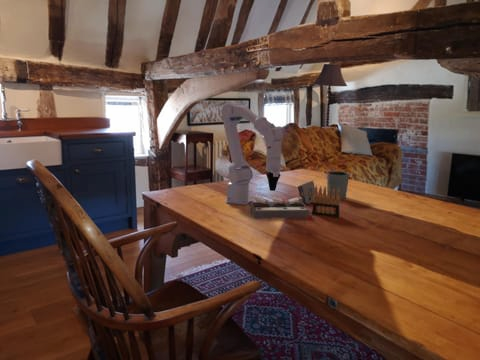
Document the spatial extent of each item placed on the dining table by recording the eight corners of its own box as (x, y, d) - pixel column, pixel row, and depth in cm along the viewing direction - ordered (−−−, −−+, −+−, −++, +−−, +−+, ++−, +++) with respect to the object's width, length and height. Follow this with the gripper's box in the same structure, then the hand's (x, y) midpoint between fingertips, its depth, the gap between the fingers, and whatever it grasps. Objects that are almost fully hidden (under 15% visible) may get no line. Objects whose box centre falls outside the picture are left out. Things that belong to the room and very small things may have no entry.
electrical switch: (307, 205, 161) (306, 184, 160) (297, 203, 165) (296, 183, 163) (317, 200, 168) (316, 180, 167) (307, 199, 172) (306, 180, 170)
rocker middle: (272, 202, 148) (273, 198, 148) (271, 199, 151) (272, 196, 151) (284, 205, 149) (285, 201, 149) (283, 202, 152) (284, 199, 152)
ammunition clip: (311, 214, 149) (313, 186, 146) (312, 213, 150) (314, 185, 147) (338, 217, 145) (341, 188, 142) (339, 216, 147) (341, 187, 144)
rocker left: (255, 202, 148) (256, 199, 148) (254, 200, 151) (255, 196, 151) (267, 205, 149) (268, 202, 148) (266, 203, 152) (267, 199, 151)
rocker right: (290, 205, 149) (289, 201, 149) (289, 202, 152) (288, 199, 152) (302, 201, 149) (302, 198, 149) (300, 199, 152) (300, 196, 152)
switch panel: (253, 218, 143) (254, 209, 142) (250, 209, 155) (250, 201, 154) (308, 217, 145) (309, 209, 144) (301, 208, 156) (302, 200, 156)
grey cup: (323, 199, 171) (325, 174, 168) (327, 193, 180) (329, 169, 177) (346, 201, 167) (348, 176, 164) (348, 196, 176) (350, 171, 173)
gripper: (286, 160, 139) (285, 195, 142) (280, 154, 153) (279, 185, 156) (268, 160, 138) (267, 195, 141) (263, 154, 152) (262, 186, 155)
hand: (272, 190), depth 149 cm, fingers closed
